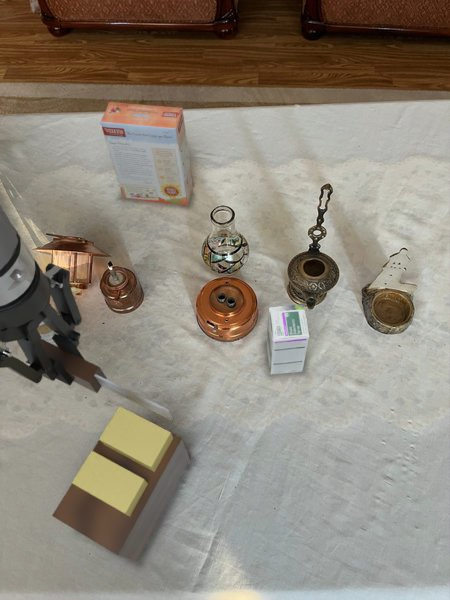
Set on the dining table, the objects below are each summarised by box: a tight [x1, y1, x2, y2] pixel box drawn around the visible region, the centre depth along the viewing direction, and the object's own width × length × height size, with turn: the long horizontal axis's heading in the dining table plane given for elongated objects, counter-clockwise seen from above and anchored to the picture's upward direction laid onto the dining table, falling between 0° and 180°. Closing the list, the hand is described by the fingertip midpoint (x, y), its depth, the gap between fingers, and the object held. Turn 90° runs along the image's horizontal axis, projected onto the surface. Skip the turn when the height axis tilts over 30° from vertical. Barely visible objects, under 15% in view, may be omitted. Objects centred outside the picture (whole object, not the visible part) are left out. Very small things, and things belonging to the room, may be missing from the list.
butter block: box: [98, 405, 173, 472], centre depth 69 cm, size 8×5×3 cm, turn 63°
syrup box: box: [266, 303, 310, 375], centre depth 85 cm, size 6×6×14 cm
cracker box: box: [100, 101, 194, 206], centre depth 102 cm, size 14×6×21 cm, turn 80°
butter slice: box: [71, 450, 148, 517], centre depth 67 cm, size 8×4×3 cm, turn 63°
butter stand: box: [51, 432, 192, 562], centre depth 75 cm, size 10×16×14 cm, turn 153°
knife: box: [40, 339, 174, 422], centre depth 69 cm, size 21×2×4 cm, turn 63°
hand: (70, 369), depth 71 cm, fingers closed on knife, 2 cm apart
